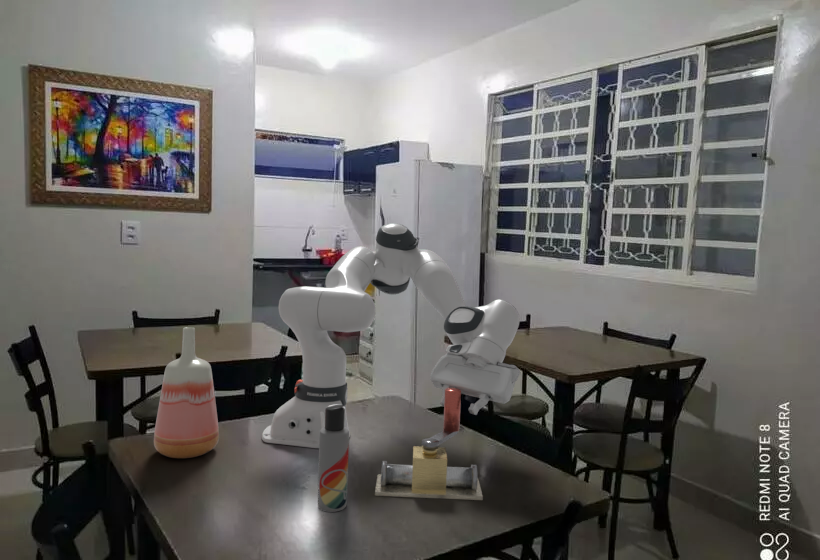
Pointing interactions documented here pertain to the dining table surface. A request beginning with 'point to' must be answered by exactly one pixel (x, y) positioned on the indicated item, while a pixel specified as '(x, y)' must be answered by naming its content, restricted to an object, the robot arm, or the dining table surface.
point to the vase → (187, 405)
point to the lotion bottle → (333, 461)
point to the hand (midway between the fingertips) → (457, 409)
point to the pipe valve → (428, 478)
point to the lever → (447, 420)
